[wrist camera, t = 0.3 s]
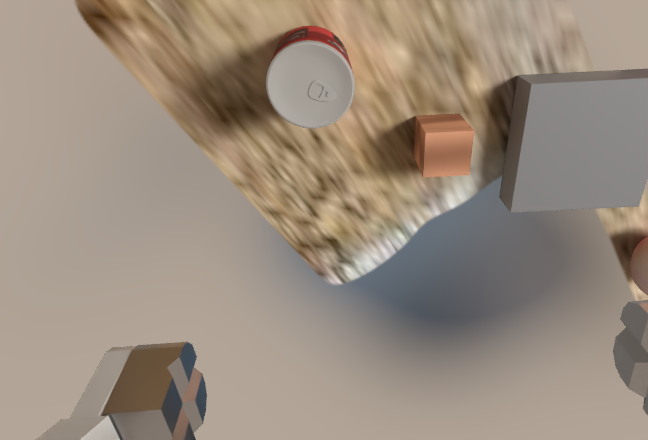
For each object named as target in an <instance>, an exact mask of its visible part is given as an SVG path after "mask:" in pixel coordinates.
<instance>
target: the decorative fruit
mask: <svg viewBox="0 0 648 440" xmlns="http://www.w3.org/2000/svg"><path fill="white" fill-rule="evenodd" d="M630 272H631V276H632V278H633V280H634V282H635V284H636V285H637V286H638V287H639V289H641V290H642V291H643V292H644V293H645V294H647V295H648V237H646V238H644V239H643V240H642V241H640V242H639V243H638V245H637V246H636V248H635V249H634V251H633V254H632V257H631V261H630Z"/></svg>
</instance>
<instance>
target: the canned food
mask: <svg viewBox="0 0 648 440" xmlns="http://www.w3.org/2000/svg"><path fill="white" fill-rule="evenodd" d="M266 89H267V95H268V97H269V100H270V103H271V104H272V106H273V107H274V109H275V110H276V112H277V113H278V114H279V115H280V116H281V117H282V118H284V119H285V120H286V121H288V122H290V123H292V124H294V125H296V126H299V127H303V128H311V129H312V128H321V127H325V126H328V125H330V124H332V123H334V122H336V121H337V120H339V119H340V118H341V117H342V116H343V115H344V114H345V113H346V112H347V110H348V108H349V107H350V105H351V103H352V100H353V97H354V90H355V82H354V75H353V71H352V68H351V64H350V61H349V58H348V55H347V52H346V49H345V47H344V45H343V44H342V42H341V41H340V40H339V38H338V37H336V36H335V35H334V34H333V33H332V32H330V31H328V30H326V29H324V28H321V27H317V26H303V27H300V28H296V29H294V30H293V31H291V32H289V33H288V34H287V35H286V36H285V37H284V38H283V39H282V40H281V42H280V43H279V45H278V47H277V50H276V52H275V54H274V56H273V58H272V60H271V62H270V64H269V67H268V71H267V75H266Z"/></svg>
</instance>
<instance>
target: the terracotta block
mask: <svg viewBox="0 0 648 440" xmlns="http://www.w3.org/2000/svg"><path fill="white" fill-rule="evenodd" d="M473 136H474V130H473V129H472V128H471V126H470V125H469V124H468V123H467V122H466V121H465V120H464V118H463V117H462V116H461V115H460V114H443V115H424V116H416V117H415V138H414V159H415V161H416V163H417V165H418V167H419V169H420V171H421V174H422V176H423V177H436V176H457V175H469V173H470V164H471V154H472V145H473Z"/></svg>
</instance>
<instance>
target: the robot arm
mask: <svg viewBox="0 0 648 440" xmlns="http://www.w3.org/2000/svg"><path fill="white" fill-rule="evenodd" d="M620 319H621V321H622V322H623V323H624V325H625V326H626V328H625V329H624V330H623V331H622V332H621V333H620V334H619V335H618V336H617V337H616V338H615V343H614V349H613V353H614V360H615V366H616V368H617V370H618V373H619V375H620V377H621V378H622V380H623V381H624V383H625V384H626V386H627V387H628V388H629V389H630V390H632V391H634V392H636V393H637V394H639V395H641V396H642V397H644V406H643V409H644V411H645V412H646V414H647V415H648V300H643V301H633V302H628V303H627V304H626V306H625V307H624V308H623V311H622V315H621V318H620ZM196 357H197V356H196V353H195V351H194V348H193V345H192V344H191V343H189V342H180V343H166V344H151V345H138V346H129V347H113V348H111V349H110V350H108V351H107V352H106V353H105V354H104V356H103V358H102V360H101V362H100V364H99V366H98V367H97V369H96V371H95V373H94V375H93V377H92V378H91V380H90V382H89V384H88V386H87V388H86V389H85V391H84V393H83V395H82V397H81V399H80V400H79V402H78V404H77V406H76V408H75V410H74V412H73V413H72V415H71V417H70V419H61V420H60V421H59V422H57V423H56V424H55V425H54V426H52V427H51V428H50V429H49V430H47V431H46V432H45V433H43V434H42V435H41V436H40V437H38V438H37V439H36V440H196V439H195V436H194V432H195V431H196V430H197V429H198V428H199V427H200V426H201V425H202V424H203V421H204V416H205V412H206V399H207V393H206V386H205V381H204V378H203V374H202V373H201V372H199V371H198V370H197V369H195V368H194V364H195V361H196Z"/></svg>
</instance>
